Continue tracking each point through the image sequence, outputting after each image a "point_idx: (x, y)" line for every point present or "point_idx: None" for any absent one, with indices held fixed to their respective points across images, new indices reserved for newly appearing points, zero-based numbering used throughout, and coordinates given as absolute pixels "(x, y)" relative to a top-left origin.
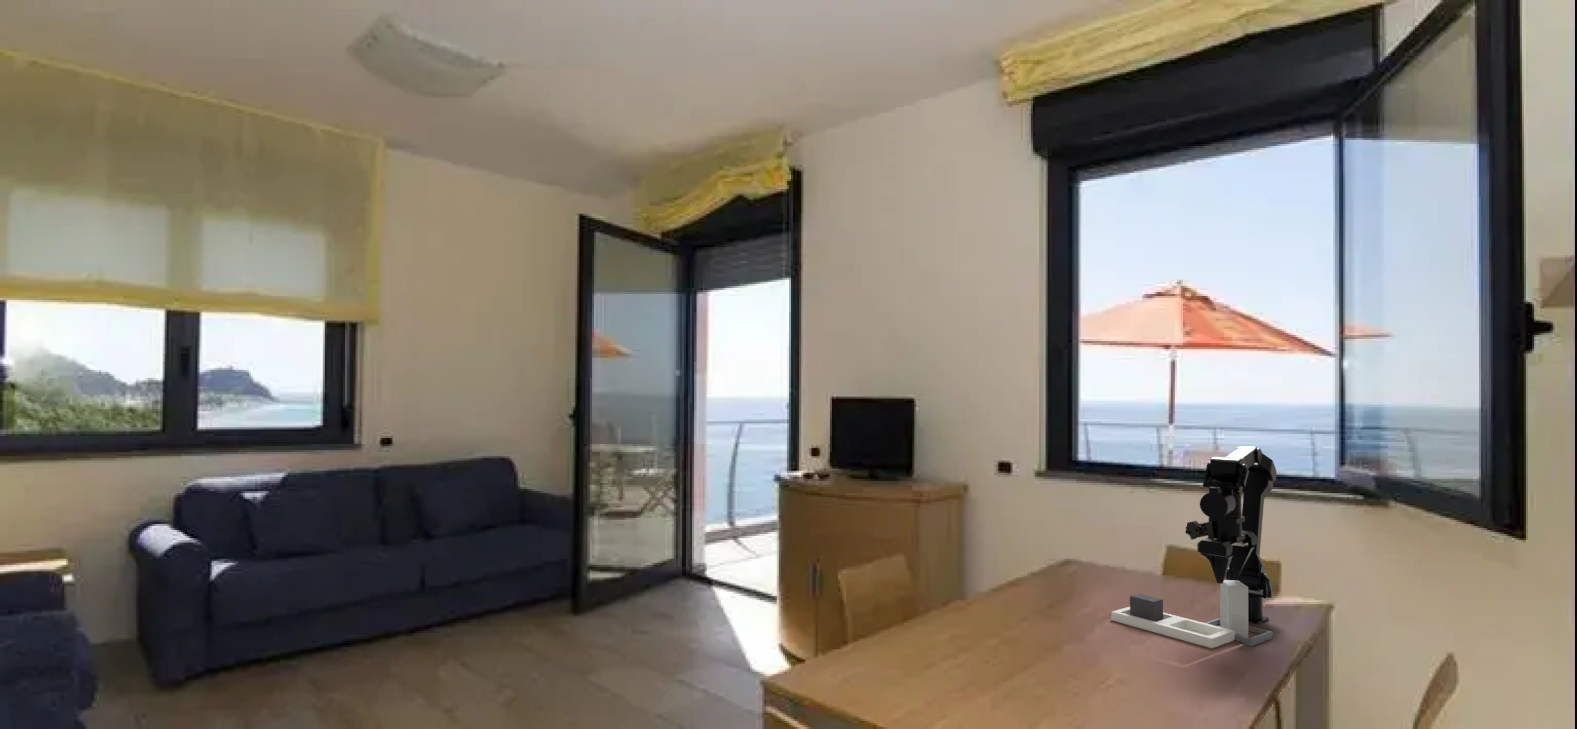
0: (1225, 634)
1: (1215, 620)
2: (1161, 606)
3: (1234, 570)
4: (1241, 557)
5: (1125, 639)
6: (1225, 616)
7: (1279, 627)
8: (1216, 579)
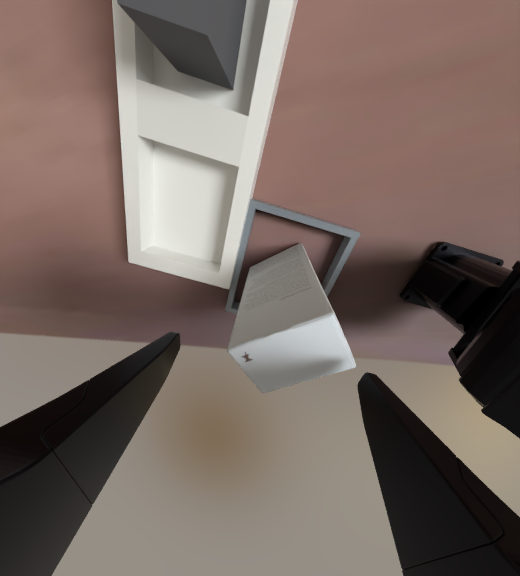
0: (189, 277)
1: (332, 230)
2: (204, 51)
3: (375, 399)
4: (411, 532)
5: (9, 23)
6: (266, 275)
7: (394, 328)
8: (158, 340)
